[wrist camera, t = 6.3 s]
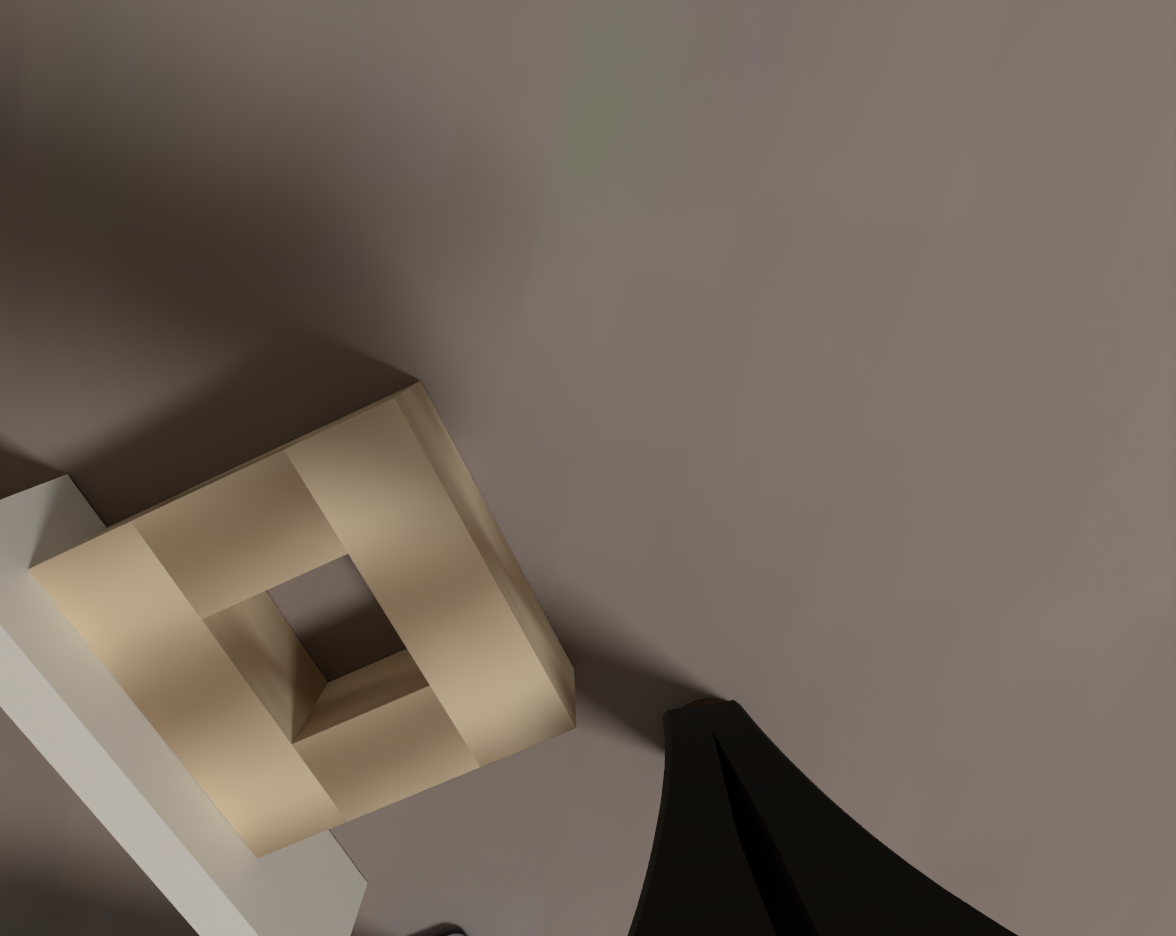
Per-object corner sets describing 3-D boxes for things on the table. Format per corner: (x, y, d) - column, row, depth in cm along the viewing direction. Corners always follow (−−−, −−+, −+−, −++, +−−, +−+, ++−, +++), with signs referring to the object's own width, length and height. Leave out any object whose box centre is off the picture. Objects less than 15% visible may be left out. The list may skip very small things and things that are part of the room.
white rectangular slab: (367, 883, 24) (324, 1015, 19) (242, 933, 24) (173, 1072, 20) (67, 474, 19) (-79, 529, 15) (-83, 545, 19) (-268, 620, 15)
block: (574, 668, 22) (576, 727, 19) (296, 785, 22) (257, 858, 20) (420, 380, 19) (394, 397, 16) (106, 527, 19) (28, 569, 17)
